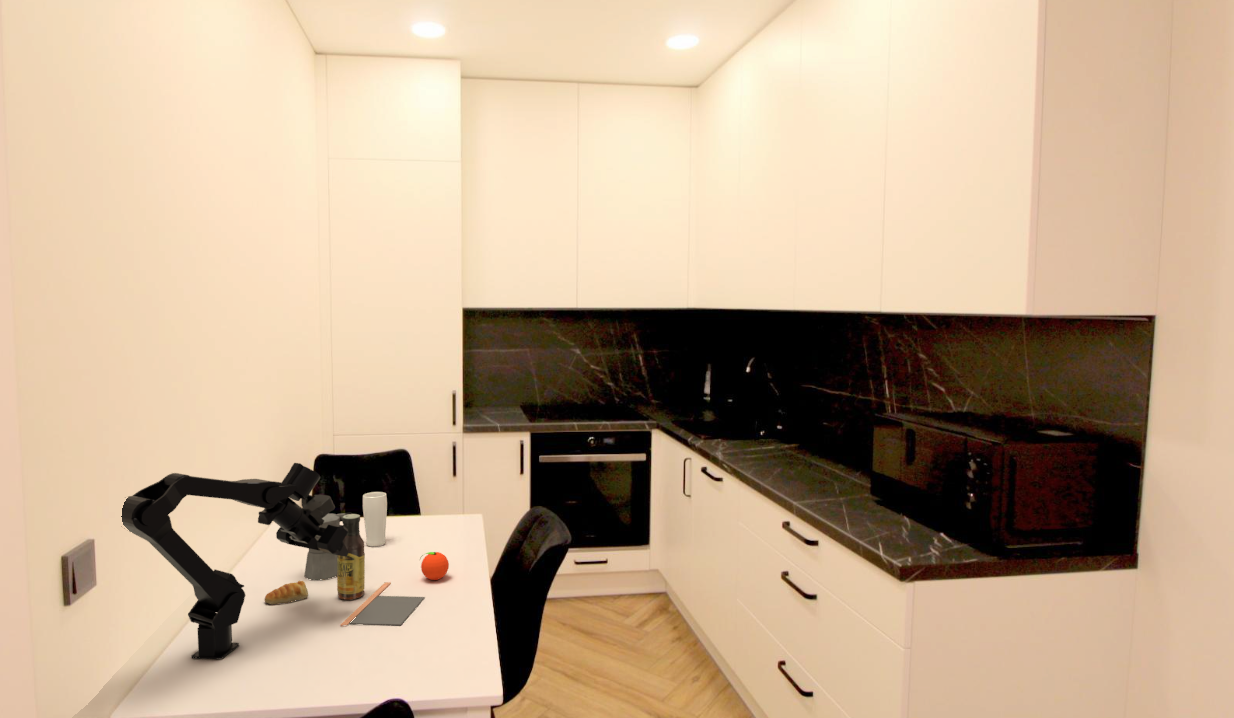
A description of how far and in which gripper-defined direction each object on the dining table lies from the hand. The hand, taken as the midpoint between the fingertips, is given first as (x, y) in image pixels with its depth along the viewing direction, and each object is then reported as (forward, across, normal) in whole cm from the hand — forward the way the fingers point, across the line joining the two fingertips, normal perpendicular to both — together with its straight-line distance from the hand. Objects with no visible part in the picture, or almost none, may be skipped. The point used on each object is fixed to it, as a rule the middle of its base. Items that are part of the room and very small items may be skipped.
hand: (333, 551), depth 179 cm
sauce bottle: (+12, 0, +6) cm, 14 cm away
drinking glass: (+35, +26, -16) cm, 47 cm away
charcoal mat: (+11, -14, +7) cm, 19 cm away
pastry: (+6, +12, +12) cm, 18 cm away
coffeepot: (+18, +18, 0) cm, 25 cm away
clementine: (+26, -9, -8) cm, 28 cm away
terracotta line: (+11, -7, +6) cm, 15 cm away
